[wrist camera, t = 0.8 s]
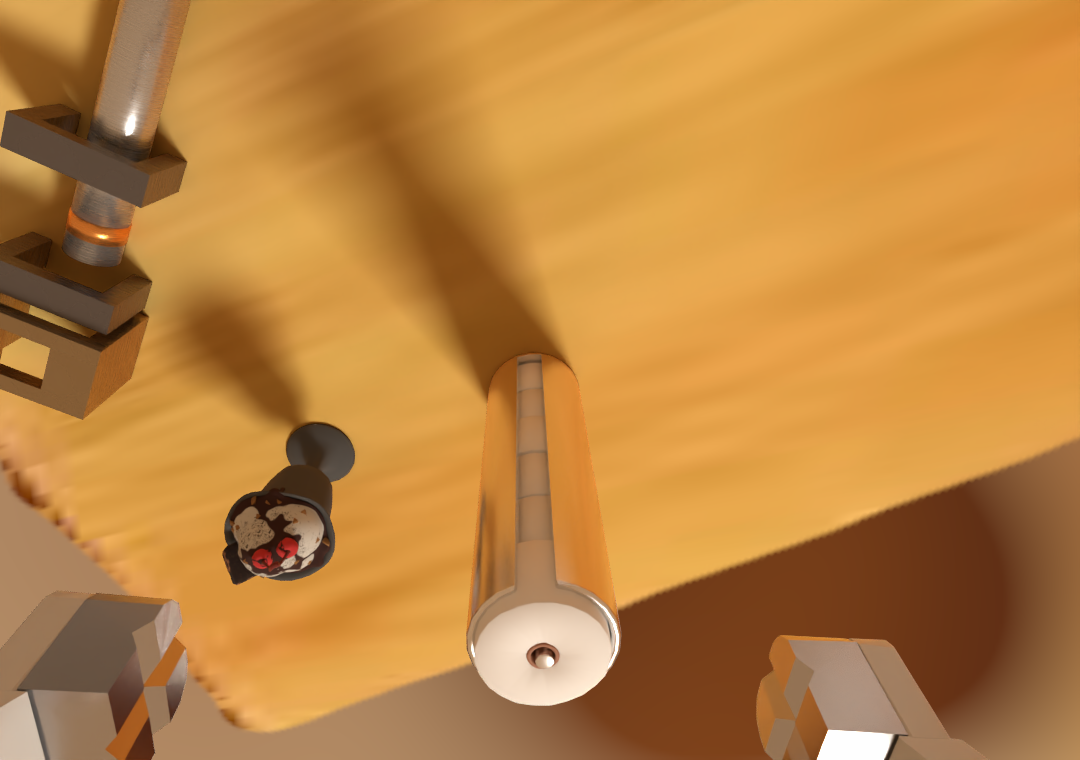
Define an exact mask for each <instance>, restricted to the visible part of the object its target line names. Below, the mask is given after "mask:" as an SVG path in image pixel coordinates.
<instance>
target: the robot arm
mask: <svg viewBox="0 0 1080 760" xmlns="http://www.w3.org/2000/svg"><path fill="white" fill-rule="evenodd" d="M181 624H182V618H181V612H180V607H179V603H178V602H176V601H174V600H172V599H161V598H149V597H137V596H125V595H113V594H101V593H96V594H89V593H77V592H67V591H56V592H54V593H52V594H50V595H48V596H46V597H45V598H44V599H43V600H42V601H41V602H40V604H39V605H38V606H37V607H36V608H35V609H34V611H33V612H32V613H31V614H30V615H29V616H28V617H27V619H26V620H25V621H24V622H23V623H22V625H21V626H20V627H19V628H18V629H17V630H16V632H15V633H14V634H13V635H12V636H11V637H10V639H9V640H8V641H7V642H6V643H5V644H4V646H3V647H2V648H1V649H0V760H151V759H152V757H153V756H154V754H155V749H154V743H153V737H152V735H153V734H155V733H156V732H157V731H159V730H160V729H162V728H163V727H164V726H166V725H167V724H168V723H170V722H171V720H172V718H173V716H174V714H175V712H176V710H177V708H178V706H179V704H180V701H181V697H182V694H183V690H184V686H185V683H186V679H187V663H188V661H187V653H186V648H185V647H184V646H183V645H182V644H181V643H180V642H179V641H178V640H177V639H176V638H175V637H174V636H175V634H176V633H177V631H178V629H179V627H180V626H181ZM769 658H770V660H771V663H772V665H773V668H774V670H773V671H772V672H771V673H770V674H768V675H767V676H766V677H765V678H763V679H762V680H761V684H760V688H759V692H758V696H757V723H758V729H759V735H760V738H761V741H762V744H763V747H764V750H765V752H766V753H767V754H768V755H769V756H770V757H771V758H772V759H773V760H989V759H987V758H986V757H984V756H983V755H982V754H980V753H979V752H978V751H976V750H975V749H973V748H972V747H971V746H970V745H968V744H967V743H965V742H964V741H963V740H961V739H950V737H949V735H948V734H947V732H946V731H945V729H944V728H943V726H942V724H941V723H940V721H939V719H938V718H937V716H936V714H935V713H934V711H933V710H932V708H931V706H930V705H929V703H928V702H927V700H926V698H925V697H924V695H923V693H922V692H921V690H920V689H919V687H918V685H917V684H916V682H915V680H914V679H913V677H912V676H911V674H910V673H909V671H908V669H907V668H906V666H905V665H904V663H903V661H902V659H901V658H900V656H899V655H898V653H897V652H896V650H895V648H894V647H893V646H892V645H891V644H890V643H888V642H887V641H886V640H871V639H849V640H847V639H842V638H823V637H803V636H784V635H779V636H778V637H777V639H776V640H775V641H774V642H773V645H772V648H771V651H770V654H769Z"/></svg>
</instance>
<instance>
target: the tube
mask: <svg viewBox="0 0 1080 760" xmlns="http://www.w3.org/2000/svg"><path fill="white" fill-rule="evenodd" d="M190 3H191V0H120V1H119V5H118V9H117V14H116V18H115V22H114V27H113V31H112V35H111V39H110V44H109V48H108V52H107V56H106V61H105V65H104V69H103V73H102V78H101V82H100V86H99V90H98V95H97V99H96V103H95V108H94V112H93V116H92V120H91V125H90V129H89V133H88V137H87V141H89V142H92V143H94V144H96V145H98V146H101V147H103V148H105V149H107V150H109V151H112V152H114V153H116V154H118V155H121V156H123V157H125V158H127V159H129V160H132V161H134V162H136V163H137V162H141V161H144V160H147V159H149V155H150V151H151V148H152V144H153V140H154V136H155V133H156V129H157V125H158V122H159V118H160V114H161V110H162V107H163V103H164V99H165V96H166V92H167V88H168V84H169V81H170V77H171V73H172V70H173V66H174V62H175V58H176V55H177V51H178V47H179V44H180V40H181V36H182V32H183V29H184V25H185V21H186V18H187V14H188V10H189V6H190ZM135 207H136V206H135V205H133V204H131V203H129V202H126V201H124V200H122V199H119V198H117V197H115V196H113V195H110V194H108V193H106V192H104V191H101V190H99V189H97V188H94V187H92V186H90V185H88V184H85V183H83V182H81V181H78V180H77V184H76V189H75V193H74V197H73V201H72V205H71V207H70V210H69V214H68V218H67V223H66V231H65V236H64V240H63V244H62V250H63V251H64V252H65V253H66V254H67V255H68V256H70V257H71V258H73V259H75V260H77V261H80V262H83V263H86V264H89V265H94V266H100V267H113V266H116V265H119V264H120V262H121V259H122V255H123V252H124V248H125V244H126V243H127V240H128V237H129V233H130V229H131V226H132V223H131V222H132V218H133V215H134V211H135Z"/></svg>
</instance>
